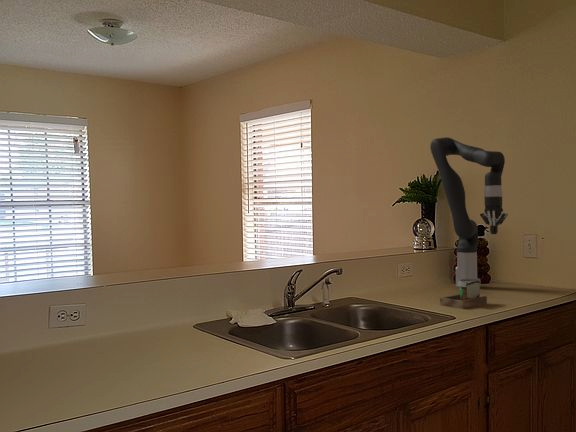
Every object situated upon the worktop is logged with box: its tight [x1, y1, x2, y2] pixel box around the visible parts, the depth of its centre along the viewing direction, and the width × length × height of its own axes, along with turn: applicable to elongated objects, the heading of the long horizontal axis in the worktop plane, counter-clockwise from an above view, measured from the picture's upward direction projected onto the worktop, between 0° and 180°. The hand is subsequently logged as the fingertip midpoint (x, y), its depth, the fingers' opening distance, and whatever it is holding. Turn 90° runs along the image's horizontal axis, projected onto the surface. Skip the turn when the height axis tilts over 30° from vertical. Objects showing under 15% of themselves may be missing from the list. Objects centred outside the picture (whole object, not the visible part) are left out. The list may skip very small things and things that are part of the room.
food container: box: [458, 278, 482, 301], centre depth 220 cm, size 12×6×10 cm, turn 133°
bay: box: [439, 293, 488, 310], centre depth 220 cm, size 11×16×3 cm
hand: (494, 234), depth 241 cm, fingers closed
